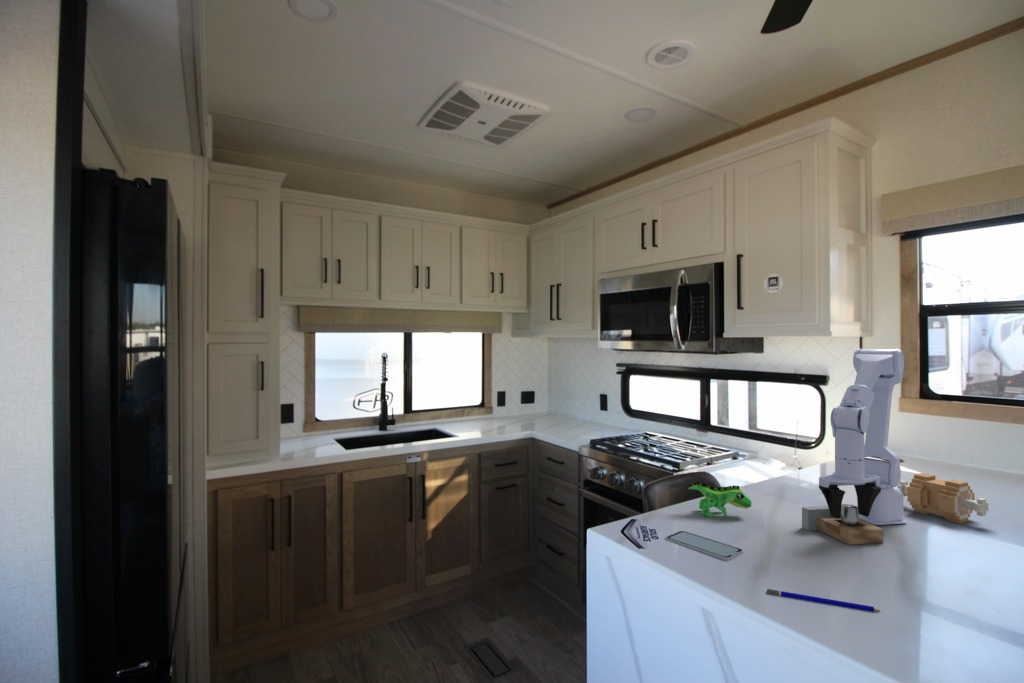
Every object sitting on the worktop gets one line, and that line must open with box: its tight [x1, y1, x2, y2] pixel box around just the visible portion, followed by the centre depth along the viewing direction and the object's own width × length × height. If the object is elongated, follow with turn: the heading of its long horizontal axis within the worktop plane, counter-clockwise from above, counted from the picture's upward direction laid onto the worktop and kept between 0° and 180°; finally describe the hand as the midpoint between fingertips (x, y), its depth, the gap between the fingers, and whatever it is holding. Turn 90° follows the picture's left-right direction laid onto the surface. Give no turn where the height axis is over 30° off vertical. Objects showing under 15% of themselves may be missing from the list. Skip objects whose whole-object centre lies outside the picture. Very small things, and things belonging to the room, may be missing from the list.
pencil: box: [766, 588, 881, 613], centre depth 84 cm, size 17×1×1 cm, turn 69°
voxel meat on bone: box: [896, 472, 989, 524], centre depth 129 cm, size 10×18×10 cm, turn 24°
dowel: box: [841, 503, 857, 527], centre depth 114 cm, size 3×3×7 cm
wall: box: [801, 504, 859, 531], centre depth 119 cm, size 14×2×5 cm, turn 99°
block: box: [816, 516, 885, 546], centre depth 114 cm, size 9×9×3 cm
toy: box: [687, 482, 752, 518], centre depth 128 cm, size 6×16×10 cm, turn 78°
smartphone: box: [665, 530, 744, 562], centre depth 108 cm, size 7×1×15 cm
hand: (849, 516), depth 114 cm, fingers open, 7 cm apart
